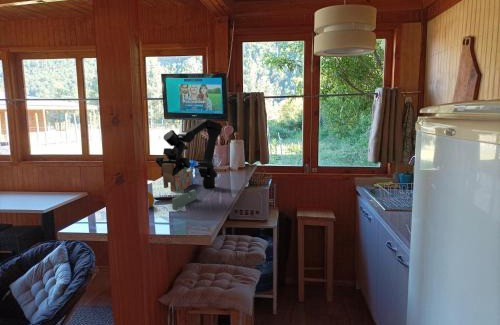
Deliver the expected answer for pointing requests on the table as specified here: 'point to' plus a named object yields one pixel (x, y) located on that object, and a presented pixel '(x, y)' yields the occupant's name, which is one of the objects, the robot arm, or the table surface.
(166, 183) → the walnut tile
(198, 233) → the table surface
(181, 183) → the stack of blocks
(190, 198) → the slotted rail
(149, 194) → the fruit
